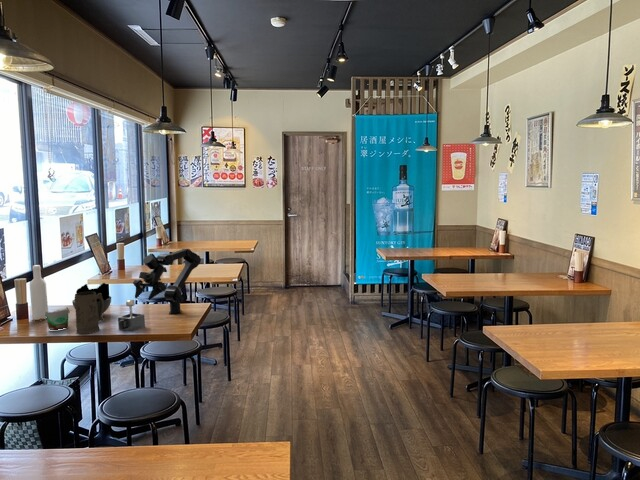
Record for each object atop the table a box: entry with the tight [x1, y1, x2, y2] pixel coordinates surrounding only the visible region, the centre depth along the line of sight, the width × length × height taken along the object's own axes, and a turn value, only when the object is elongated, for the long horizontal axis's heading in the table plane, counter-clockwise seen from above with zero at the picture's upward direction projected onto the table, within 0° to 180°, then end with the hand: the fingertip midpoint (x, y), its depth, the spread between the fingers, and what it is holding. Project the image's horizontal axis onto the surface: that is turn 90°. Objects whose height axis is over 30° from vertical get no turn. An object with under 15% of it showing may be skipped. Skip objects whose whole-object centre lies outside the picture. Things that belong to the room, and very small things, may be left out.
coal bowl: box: [71, 282, 112, 315], centre depth 290 cm, size 20×20×19 cm
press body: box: [117, 312, 146, 332], centre depth 265 cm, size 12×9×6 cm
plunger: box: [125, 299, 135, 318], centre depth 265 cm, size 7×7×10 cm
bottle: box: [29, 264, 49, 319], centre depth 287 cm, size 8×8×30 cm
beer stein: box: [74, 292, 104, 335], centre depth 264 cm, size 15×11×20 cm
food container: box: [45, 306, 70, 330], centre depth 267 cm, size 12×6×10 cm, turn 148°
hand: (142, 298), depth 272 cm, fingers open, 9 cm apart
